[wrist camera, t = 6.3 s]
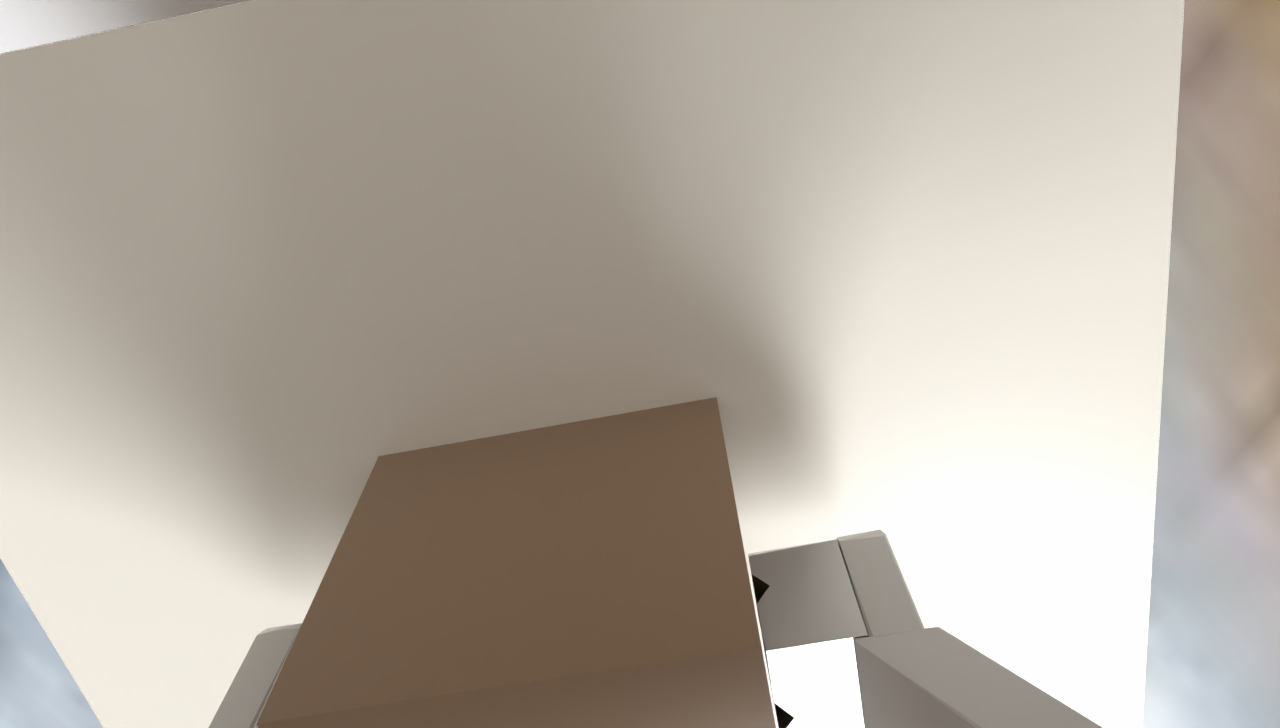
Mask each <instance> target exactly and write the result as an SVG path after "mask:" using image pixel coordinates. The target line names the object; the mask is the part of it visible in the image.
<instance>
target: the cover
mask: <svg viewBox="0 0 1280 728" xmlns="http://www.w3.org/2000/svg"><path fill="white" fill-rule="evenodd" d="M1183 17H1184V0H249V1H244V2H239V3H235V4H230V5H225V6H221V7H216V8H211V9H207V10H202V11H197V12H193V13H188V14H183V15H179V16H174V17H169V18H165V19H160V20H155V21H151V22H146V23H141V24H137V25H132V26H127V27H123V28H118V29H113V30H109V31H104V32H99V33H95V34H90V35H85V36H81V37H76V38H71V39H67V40H62V41H57V42H53V43H48V44H43V45H39V46H34V47H29V48H25V49H20V50H15V51H11V52H6V53H1V54H0V558H1V560H2V562H3V563H4V565H5V567H6V568H7V570H8V572H9V573H10V575H11V576H12V578H13V580H14V581H15V583H16V585H17V586H18V588H19V590H20V591H21V593H22V595H23V596H24V598H25V599H26V601H27V603H28V604H29V606H30V608H31V609H32V611H33V613H34V614H35V616H36V617H37V619H38V621H39V622H40V624H41V626H42V627H43V629H44V631H45V632H46V634H47V635H48V637H49V639H50V640H51V642H52V644H53V645H54V647H55V649H56V650H57V652H58V654H59V655H60V657H61V658H62V660H63V662H64V663H65V665H66V667H67V668H68V670H69V672H70V673H71V675H72V676H73V678H74V680H75V681H76V683H77V685H78V686H79V688H80V690H81V691H82V693H83V695H84V696H85V698H86V699H87V701H88V703H89V704H90V706H91V708H92V709H93V711H94V713H95V714H96V716H97V717H98V719H99V721H100V722H101V724H102V726H103V727H104V728H208V727H209V726H210V724H211V722H212V720H213V718H214V716H215V714H216V712H217V710H218V708H219V706H220V704H221V702H222V701H223V699H224V697H225V695H226V693H227V691H228V689H229V687H230V685H231V683H232V681H233V679H234V678H235V676H236V674H237V672H238V670H239V668H240V666H241V664H242V662H243V660H244V658H245V656H246V654H247V653H248V651H249V649H250V647H251V645H252V643H253V641H254V639H255V637H256V636H257V635H258V634H259V633H261V632H262V631H264V630H265V629H267V628H272V627H279V626H286V625H292V624H299V623H302V625H301V627H300V630H299V632H298V634H297V636H296V638H295V640H294V643H293V645H292V647H291V649H290V651H289V654H288V656H287V658H286V660H285V662H284V665H283V667H282V669H281V671H280V673H279V676H278V678H277V680H276V682H275V684H274V686H273V689H272V691H271V693H270V695H269V697H268V700H267V702H266V704H265V706H264V708H263V711H262V713H261V715H260V717H259V719H258V722H257V726H258V728H779V727H778V722H777V716H776V711H775V705H774V700H773V695H772V689H771V683H770V678H769V672H768V667H767V662H766V656H765V651H764V645H763V639H762V633H761V627H760V622H759V617H758V611H757V605H756V599H755V593H754V587H753V581H752V575H751V569H750V563H749V557H748V554H749V553H755V552H761V551H767V550H773V549H779V548H785V547H791V546H797V545H803V544H809V543H815V542H822V541H828V540H834V539H836V538H837V537H842V536H847V535H852V534H858V533H863V532H868V531H874V530H879V529H880V530H881V531H883V532H884V533H885V534H886V536H887V538H888V541H889V543H890V546H891V548H892V550H893V553H894V555H895V558H896V560H897V562H898V565H899V567H900V570H901V572H902V575H903V577H904V579H905V582H906V584H907V587H908V589H909V591H910V594H911V596H912V599H913V601H914V604H915V606H916V608H917V611H918V613H919V616H920V618H921V621H922V623H923V625H924V628H932V627H940V628H942V629H943V630H945V631H947V632H948V633H950V634H951V635H953V636H955V637H956V638H958V639H960V640H961V641H963V642H964V643H966V644H968V645H969V646H971V647H973V648H974V649H976V650H977V651H979V652H981V653H982V654H984V655H986V656H987V657H989V658H990V659H992V660H994V661H995V662H997V663H999V664H1000V665H1002V666H1003V667H1005V668H1007V669H1008V670H1010V671H1012V672H1013V673H1015V674H1016V675H1018V676H1020V677H1021V678H1023V679H1025V680H1026V681H1028V682H1029V683H1031V684H1033V685H1034V686H1036V687H1038V688H1039V689H1041V690H1042V691H1044V692H1046V693H1047V694H1049V695H1051V696H1052V697H1054V698H1055V699H1057V700H1059V701H1060V702H1062V703H1064V704H1065V705H1067V706H1068V707H1070V708H1072V709H1073V710H1075V711H1077V712H1078V713H1080V714H1081V715H1083V716H1085V717H1086V718H1088V719H1090V720H1091V721H1093V722H1094V723H1096V724H1098V725H1099V726H1101V727H1102V728H1142V727H1143V710H1144V693H1145V675H1146V658H1147V641H1148V623H1149V606H1150V589H1151V571H1152V554H1153V537H1154V519H1155V502H1156V485H1157V467H1158V450H1159V433H1160V415H1161V398H1162V381H1163V363H1164V346H1165V329H1166V312H1167V294H1168V277H1169V260H1170V242H1171V225H1172V208H1173V190H1174V173H1175V156H1176V138H1177V121H1178V104H1179V86H1180V69H1181V52H1182V34H1183Z"/></svg>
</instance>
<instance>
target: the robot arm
mask: <svg viewBox="0 0 1280 728" xmlns="http://www.w3.org/2000/svg"><path fill="white" fill-rule="evenodd" d="M748 557H749V563H750V569H751V575H752V581H753V587H754V593H755V599H756V605H757V611H758V617H759V622H760V627H761V633H762V639H763V645H764V651H765V656H766V662H767V667H768V672H769V678H770V683H771V689H772V695H773V700H774V705H775V711H776V716H777V722H778V727H779V728H1102V727H1101V726H1099V725H1098V724H1096V723H1094V722H1093V721H1091V720H1090V719H1088V718H1086V717H1085V716H1083V715H1081V714H1080V713H1078V712H1077V711H1075V710H1073V709H1072V708H1070V707H1068V706H1067V705H1065V704H1064V703H1062V702H1060V701H1059V700H1057V699H1055V698H1054V697H1052V696H1051V695H1049V694H1047V693H1046V692H1044V691H1042V690H1041V689H1039V688H1038V687H1036V686H1034V685H1033V684H1031V683H1029V682H1028V681H1026V680H1025V679H1023V678H1021V677H1020V676H1018V675H1016V674H1015V673H1013V672H1012V671H1010V670H1008V669H1007V668H1005V667H1003V666H1002V665H1000V664H999V663H997V662H995V661H994V660H992V659H990V658H989V657H987V656H986V655H984V654H982V653H981V652H979V651H977V650H976V649H974V648H973V647H971V646H969V645H968V644H966V643H964V642H963V641H961V640H960V639H958V638H956V637H955V636H953V635H951V634H950V633H948V632H947V631H945V630H943V629H942V628H940V627H932V628H924V625H923V623H922V621H921V618H920V616H919V613H918V611H917V608H916V606H915V604H914V601H913V599H912V596H911V594H910V591H909V589H908V587H907V584H906V582H905V579H904V577H903V575H902V572H901V570H900V567H899V565H898V562H897V560H896V558H895V555H894V553H893V550H892V548H891V546H890V543H889V541H888V538H887V536H886V534H885V533H884V532H883V531H881V530H880V529H879V530H874V531H868V532H863V533H858V534H852V535H847V536H842V537H837V538H836V539H834V540H828V541H822V542H815V543H809V544H803V545H797V546H791V547H785V548H779V549H773V550H767V551H761V552H755V553H749V554H748ZM301 625H302V623H299V624H292V625H286V626H279V627H272V628H267V629H265V630H264V631H262V632H261V633H259V634H258V635H257V636H256V637H255V639H254V641H253V643H252V645H251V647H250V649H249V651H248V653H247V654H246V656H245V658H244V660H243V662H242V664H241V666H240V668H239V670H238V672H237V674H236V676H235V678H234V679H233V681H232V683H231V685H230V687H229V689H228V691H227V693H226V695H225V697H224V699H223V701H222V702H221V704H220V706H219V708H218V710H217V712H216V714H215V716H214V718H213V720H212V722H211V724H210V726H209V727H208V728H258V726H257V722H258V719H259V717H260V715H261V713H262V711H263V708H264V706H265V704H266V702H267V700H268V697H269V695H270V693H271V691H272V689H273V686H274V684H275V682H276V680H277V678H278V676H279V673H280V671H281V669H282V667H283V665H284V662H285V660H286V658H287V656H288V654H289V651H290V649H291V647H292V645H293V643H294V640H295V638H296V636H297V634H298V632H299V630H300V627H301Z"/></svg>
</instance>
